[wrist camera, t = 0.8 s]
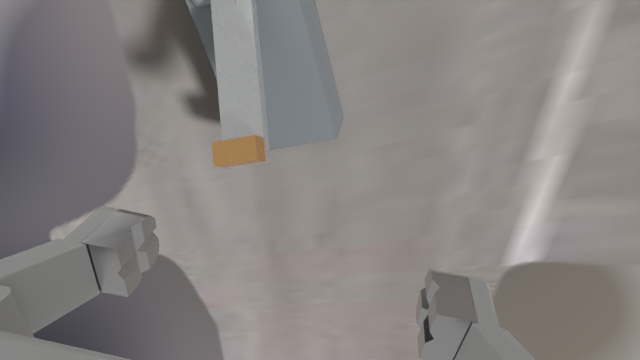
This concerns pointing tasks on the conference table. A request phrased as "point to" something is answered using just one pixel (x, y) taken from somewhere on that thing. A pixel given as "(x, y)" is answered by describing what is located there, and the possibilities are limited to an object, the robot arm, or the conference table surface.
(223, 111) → the lever
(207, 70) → the conference table surface
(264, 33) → the clamp block
